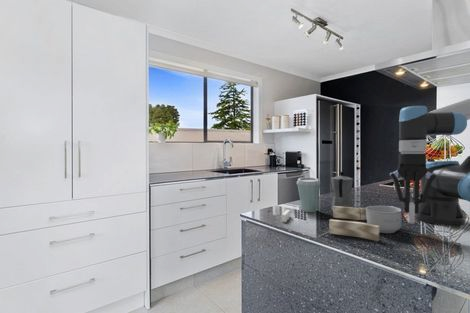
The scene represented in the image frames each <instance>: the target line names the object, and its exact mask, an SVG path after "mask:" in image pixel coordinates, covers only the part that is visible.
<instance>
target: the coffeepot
mask: <svg viewBox="0 0 470 313" xmlns="http://www.w3.org/2000/svg"><path fill="white" fill-rule="evenodd" d="M339 174H340V175H338V176H334V177H332V176H331V177H330V181H331V187H332V192H333V197H332V203H331V208H330V209H331V211H332V212H333V206H341V207H353V203H352V202H353V201H352V197H351V194H352V188H353V183H354V178H353V177H349V176H345V175H344V171H339Z"/></svg>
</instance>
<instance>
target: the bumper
mask: <svg viewBox="0 0 470 313" xmlns="http://www.w3.org/2000/svg"><path fill="white" fill-rule="evenodd" d="M290 218H291V209H286V210H285V211H284V212H282V213H281V222H282V223H287V222H288V220H289V219H290Z"/></svg>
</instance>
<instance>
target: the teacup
mask: <svg viewBox="0 0 470 313" xmlns="http://www.w3.org/2000/svg"><path fill="white" fill-rule="evenodd" d="M365 208H366V216H367V220H366V223H367V224H372V225H377V226H379V234H380V233H381V234H394V233H396V232H397V231H398V230H400V229H401V227H402V209H401V208H400V207H396V206H393V205H370V206H367V207H365Z"/></svg>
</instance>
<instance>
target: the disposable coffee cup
mask: <svg viewBox="0 0 470 313" xmlns="http://www.w3.org/2000/svg"><path fill="white" fill-rule="evenodd" d="M296 185H297V190H298V195H299V201H300V207H301V209H302V211H303V212H304V213H316V212H317V210H318V205H319V195H320V188H321V181H320V179H318V178H316V177H306V176H304V177H298V178H297V181H296Z"/></svg>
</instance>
